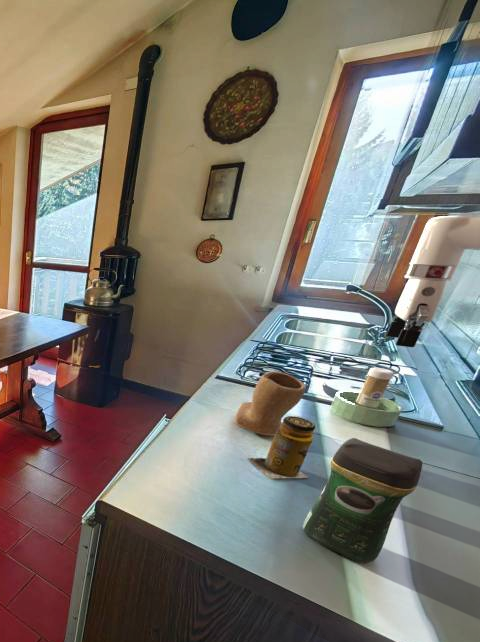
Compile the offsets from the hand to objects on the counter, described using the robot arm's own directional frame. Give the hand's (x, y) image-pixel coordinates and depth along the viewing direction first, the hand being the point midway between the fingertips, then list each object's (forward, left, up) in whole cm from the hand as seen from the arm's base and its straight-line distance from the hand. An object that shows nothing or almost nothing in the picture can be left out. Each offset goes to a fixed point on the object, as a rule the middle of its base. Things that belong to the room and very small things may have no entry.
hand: (399, 341), depth 99 cm
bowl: (+1, 0, -22) cm, 22 cm away
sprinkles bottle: (+1, 0, -22) cm, 22 cm away
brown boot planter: (+24, +23, -22) cm, 40 cm away
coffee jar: (+13, +64, -22) cm, 69 cm away
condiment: (+21, +44, -22) cm, 53 cm away
